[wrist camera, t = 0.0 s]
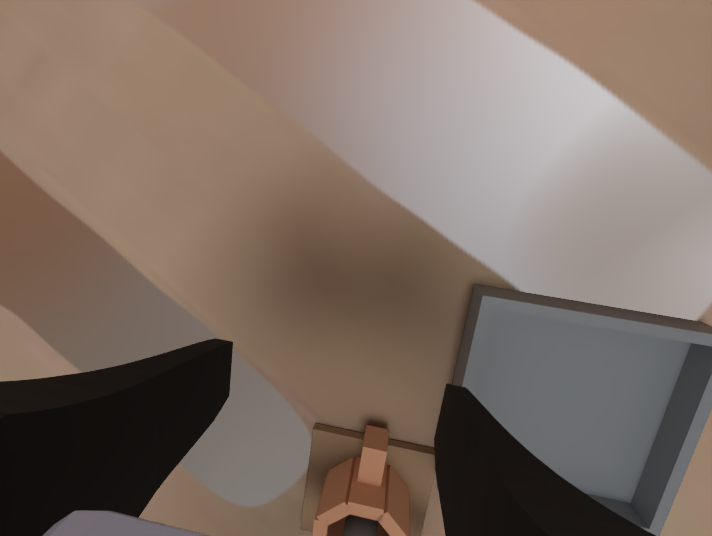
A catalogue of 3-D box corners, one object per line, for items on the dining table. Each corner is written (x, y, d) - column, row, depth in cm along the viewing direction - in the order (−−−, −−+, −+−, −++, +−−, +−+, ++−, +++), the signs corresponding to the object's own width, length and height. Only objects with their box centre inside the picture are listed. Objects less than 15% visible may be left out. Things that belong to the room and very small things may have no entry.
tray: (632, 505, 22) (657, 540, 20) (434, 462, 23) (437, 491, 21) (701, 322, 19) (740, 339, 17) (474, 284, 21) (483, 295, 18)
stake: (415, 548, 25) (417, 635, 20) (302, 521, 26) (278, 598, 21) (437, 449, 23) (446, 517, 18) (315, 423, 24) (292, 482, 19)
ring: (399, 537, 24) (398, 593, 21) (320, 518, 25) (307, 570, 21) (420, 436, 22) (423, 480, 19) (335, 418, 23) (323, 457, 20)
